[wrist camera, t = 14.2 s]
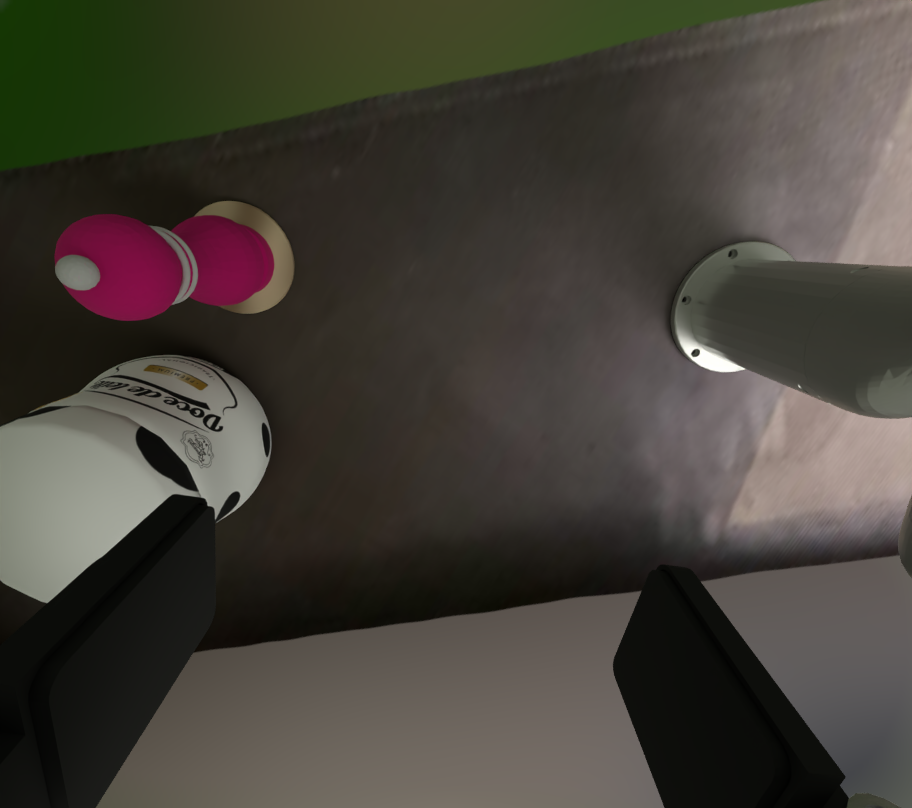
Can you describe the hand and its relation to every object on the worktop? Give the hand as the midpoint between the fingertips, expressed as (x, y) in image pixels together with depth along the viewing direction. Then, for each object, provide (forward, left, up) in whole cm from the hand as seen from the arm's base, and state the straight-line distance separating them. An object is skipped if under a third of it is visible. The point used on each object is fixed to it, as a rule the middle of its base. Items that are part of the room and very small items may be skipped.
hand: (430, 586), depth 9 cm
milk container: (+24, +16, -36) cm, 47 cm away
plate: (+20, -2, -36) cm, 41 cm away
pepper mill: (+20, -2, -36) cm, 41 cm away
